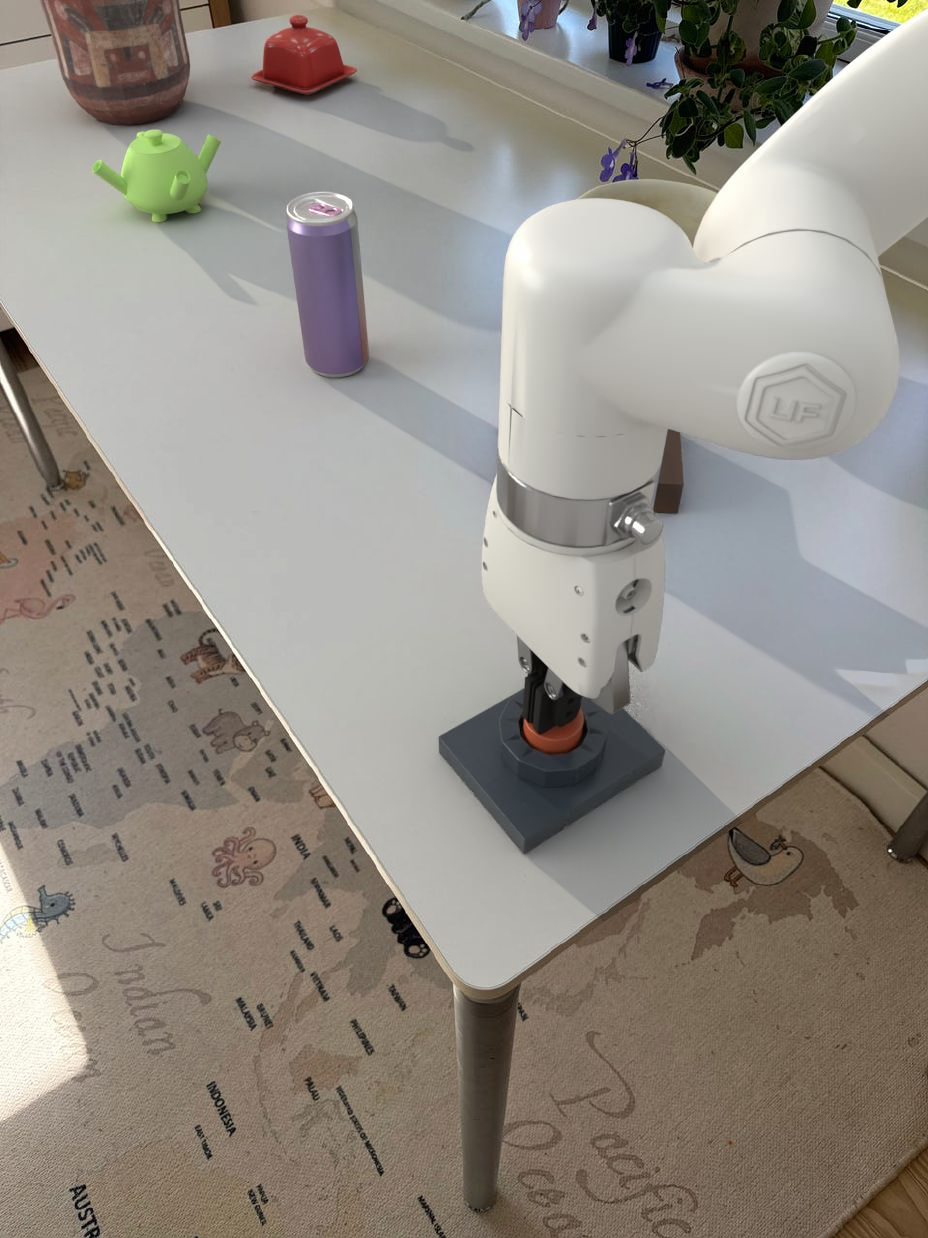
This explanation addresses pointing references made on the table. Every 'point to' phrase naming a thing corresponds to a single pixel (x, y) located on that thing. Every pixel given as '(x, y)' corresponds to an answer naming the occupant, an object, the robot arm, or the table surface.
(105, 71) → the pottery
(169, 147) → the teapot
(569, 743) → the release button
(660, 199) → the bowl
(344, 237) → the beverage can
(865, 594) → the table surface
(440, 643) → the table surface
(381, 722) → the table surface
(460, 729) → the box
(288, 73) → the butter dish
